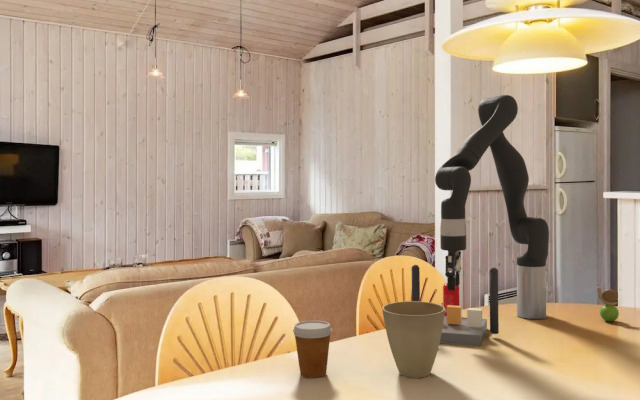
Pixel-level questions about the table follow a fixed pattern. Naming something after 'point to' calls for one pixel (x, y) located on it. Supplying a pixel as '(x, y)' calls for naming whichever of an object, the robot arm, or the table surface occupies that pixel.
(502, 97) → the robot arm
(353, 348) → the table surface
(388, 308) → the plant pot
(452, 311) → the block
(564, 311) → the table surface
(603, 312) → the snail figurine
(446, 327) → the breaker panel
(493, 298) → the dark grey post
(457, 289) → the beverage can
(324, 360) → the disposable coffee cup
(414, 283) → the dark grey rod
